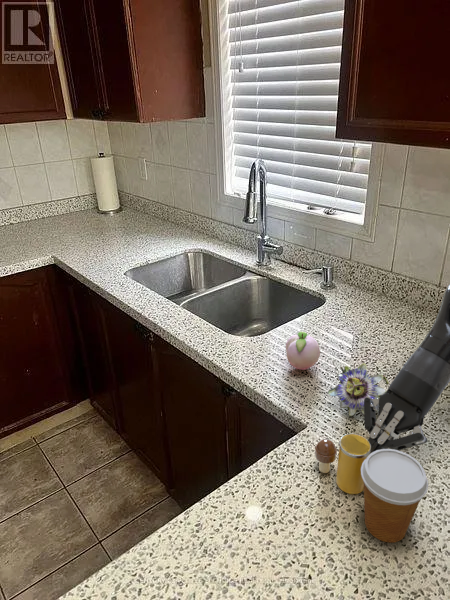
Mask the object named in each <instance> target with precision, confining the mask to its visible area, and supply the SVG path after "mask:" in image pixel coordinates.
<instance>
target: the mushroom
mask: <svg viewBox="0 0 450 600" xmlns="http://www.w3.org/2000/svg"><path fill="white" fill-rule="evenodd" d="M337 454H338V449H337V447H336V446H335V443H334V442H333V441H332V440H330V439H328V438H322V439H321V440H319V441H318V442H317V444H316V445H315V447H314V457H315V459H316V460H317V461H318V471H320V472H321V473H323V474H327V473H329V472H330V471H331V464H333V463H334V462H335V461H336V459H337Z"/></svg>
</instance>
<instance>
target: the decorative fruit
mask: <svg viewBox="0 0 450 600" xmlns="http://www.w3.org/2000/svg"><path fill="white" fill-rule="evenodd" d="M285 352H286V359H287V361H288V363H289V365H291V367H293V368H294V369H297V370H308V369H310V368H312V367H313V366H314V365H316V363H317V362H318V361H319V359H320V356H321V348H320V345H319V343H318V341H317V340H316V339H315V338H314V337H312V336H311V335H308V333H307V332H305V331H298V332H297V333H296V334H294V335H292V336H290V337H289V338H288V339H287V341H286V343H285Z"/></svg>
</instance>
